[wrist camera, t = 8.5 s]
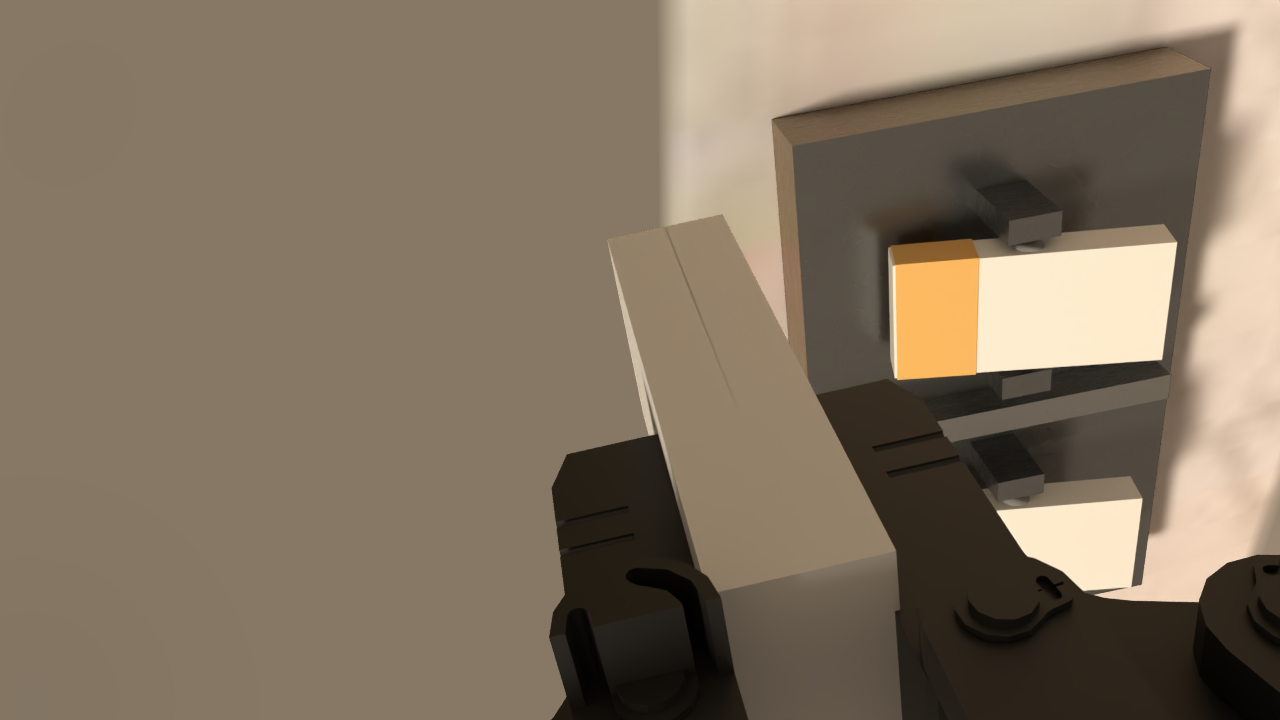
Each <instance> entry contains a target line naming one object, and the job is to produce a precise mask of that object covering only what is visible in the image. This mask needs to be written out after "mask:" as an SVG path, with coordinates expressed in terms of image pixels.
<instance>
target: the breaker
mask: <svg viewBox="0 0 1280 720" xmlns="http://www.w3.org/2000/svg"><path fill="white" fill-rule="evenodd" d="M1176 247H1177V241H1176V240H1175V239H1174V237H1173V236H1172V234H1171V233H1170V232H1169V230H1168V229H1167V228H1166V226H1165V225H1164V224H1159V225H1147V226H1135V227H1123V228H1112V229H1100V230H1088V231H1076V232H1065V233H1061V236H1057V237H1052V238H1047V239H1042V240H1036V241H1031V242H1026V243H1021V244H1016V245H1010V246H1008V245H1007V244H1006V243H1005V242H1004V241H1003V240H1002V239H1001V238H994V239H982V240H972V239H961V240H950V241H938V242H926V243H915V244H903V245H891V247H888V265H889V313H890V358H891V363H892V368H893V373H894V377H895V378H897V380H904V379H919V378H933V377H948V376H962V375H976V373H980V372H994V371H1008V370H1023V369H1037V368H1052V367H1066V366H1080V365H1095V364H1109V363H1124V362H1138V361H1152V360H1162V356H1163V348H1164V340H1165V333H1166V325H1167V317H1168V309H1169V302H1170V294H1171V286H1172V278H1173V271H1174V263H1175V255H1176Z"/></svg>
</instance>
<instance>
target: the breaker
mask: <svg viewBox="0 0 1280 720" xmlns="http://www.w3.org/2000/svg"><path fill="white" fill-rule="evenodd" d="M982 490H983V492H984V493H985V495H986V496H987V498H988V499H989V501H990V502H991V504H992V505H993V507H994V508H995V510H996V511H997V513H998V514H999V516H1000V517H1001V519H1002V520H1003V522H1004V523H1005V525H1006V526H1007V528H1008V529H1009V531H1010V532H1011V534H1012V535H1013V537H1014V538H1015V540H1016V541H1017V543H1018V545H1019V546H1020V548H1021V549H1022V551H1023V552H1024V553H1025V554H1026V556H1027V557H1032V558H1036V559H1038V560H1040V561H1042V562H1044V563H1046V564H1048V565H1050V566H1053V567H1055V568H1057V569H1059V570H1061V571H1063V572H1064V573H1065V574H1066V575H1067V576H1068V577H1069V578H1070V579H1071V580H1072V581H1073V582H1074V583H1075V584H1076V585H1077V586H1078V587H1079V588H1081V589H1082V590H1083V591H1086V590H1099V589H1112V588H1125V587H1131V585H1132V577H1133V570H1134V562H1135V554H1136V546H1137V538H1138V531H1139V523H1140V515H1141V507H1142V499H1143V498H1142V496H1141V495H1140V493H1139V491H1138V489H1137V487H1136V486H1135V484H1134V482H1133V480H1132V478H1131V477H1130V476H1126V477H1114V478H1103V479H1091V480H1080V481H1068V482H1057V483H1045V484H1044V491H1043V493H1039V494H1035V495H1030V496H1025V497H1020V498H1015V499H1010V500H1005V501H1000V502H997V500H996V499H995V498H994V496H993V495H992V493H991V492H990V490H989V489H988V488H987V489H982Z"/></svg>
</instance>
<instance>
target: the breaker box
mask: <svg viewBox="0 0 1280 720" xmlns="http://www.w3.org/2000/svg"><path fill="white" fill-rule="evenodd" d="M1210 73H1211V68H1209V67H1207V66H1205V65H1203V64H1201V63H1199V62H1197V61H1195V60H1193V59H1191V58H1189V57H1187V56H1185V55H1182V54H1180V53H1178V52H1176V51H1174V50H1172V49H1170V48H1168V47H1164V48H1158V49H1153V50H1147V51H1142V52H1137V53H1131V54H1126V55H1120V56H1115V57H1109V58H1104V59H1098V60H1093V61H1088V62H1082V63H1077V64H1071V65H1066V66H1060V67H1055V68H1049V69H1044V70H1039V71H1033V72H1028V73H1022V74H1017V75H1011V76H1006V77H1000V78H995V79H990V80H984V81H979V82H973V83H968V84H962V85H957V86H951V87H946V88H940V89H935V90H930V91H924V92H919V93H913V94H908V95H902V96H897V97H891V98H886V99H881V100H875V101H870V102H864V103H859V104H853V105H848V106H842V107H837V108H832V109H826V110H821V111H815V112H810V113H804V114H799V115H793V116H788V117H783V118H777V119H772V128H773V141H774V154H775V167H776V180H777V193H778V207H779V220H780V233H781V246H782V259H783V272H784V285H785V298H786V311H787V324H788V337H789V344H790V346H791V348H792V350H793V352H794V354H795V356H796V358H797V360H798V362H799V364H800V366H801V367H802V369H803V371H804V373H805V375H806V377H807V379H808V381H809V383H810V385H811V387H812V389H813V391H814V393H815V395H818V394H822V393H827V392H831V391H835V390H840V389H844V388H849V387H853V386H858V385H862V384H866V383H871V382H875V381H880V380H884V379H888V380H890V381H892V382H893V383H895V384H896V385H898V386H900V387H901V388H903V389H905V390H906V391H908V392H910V393H911V394H913V395H915V396H916V397H918V398H920V399H921V400H923V401H924V403H925V404H926V406H927V407H928V409H929V410H930V412H931V413H932V415H933V416H934V418H935V419H936V421H937V422H938V424H939V425H940V427H941V428H942V430H943V434H944V437H946V436H947V437H948V439H949V440H950V442H951V443H952V445H953V446H954V448H955V450H956V451H957V453H958V454H959V458H960V461H961V462H964V463H965V465H966V466H967V468H968V469H969V471H970V472H971V474H972V475H973V477H974V478H975V480H976V481H977V483H978V484H979V486H980V487H981V489H987V488H988V489H989V490H990V492H991V493H992V495H993V496H994V498H995V499H996V500H997V502H1000V501H1005V500H1010V499H1015V498H1020V497H1025V496H1030V495H1035V494H1039V493H1043V491H1044V484H1045V483H1057V482H1068V481H1080V480H1091V479H1103V478H1114V477H1126V476H1130V477H1131V478H1132V480H1133V482H1134V484H1135V486H1136V487H1137V489H1138V491H1139V493H1140V495H1141V496H1142V498H1143V499H1142V507H1141V515H1140V523H1139V531H1138V538H1137V546H1136V554H1135V562H1134V570H1133V577H1132V585H1131V587H1133V586H1137V585H1142V578H1143V571H1144V564H1145V556H1146V549H1147V541H1148V534H1149V526H1150V519H1151V511H1152V504H1153V497H1154V489H1155V482H1156V474H1157V467H1158V459H1159V452H1160V445H1161V437H1162V430H1163V422H1164V415H1165V407H1166V400H1167V399H1168V395H1169V388H1170V381H1171V374H1170V370H1171V363H1172V355H1173V348H1174V340H1175V333H1176V326H1177V318H1178V311H1179V303H1180V296H1181V288H1182V281H1183V274H1184V266H1185V259H1186V251H1187V244H1188V236H1189V229H1190V221H1191V214H1192V207H1193V199H1194V192H1195V184H1196V177H1197V169H1198V162H1199V155H1200V147H1201V140H1202V132H1203V125H1204V117H1205V110H1206V102H1207V95H1208V88H1209V80H1210ZM1159 224H1164V225H1165V226H1166V228H1167V229H1168V230H1169V232H1170V233H1171V234H1172V236H1173V237H1174V239H1175V240H1176V241H1177V247H1176V255H1175V263H1174V271H1173V278H1172V286H1171V294H1170V302H1169V309H1168V317H1167V325H1166V333H1165V340H1164V348H1163V356H1162V360H1152V361H1138V362H1124V363H1109V364H1095V365H1080V366H1066V367H1052V368H1037V369H1023V370H1008V371H994V372H980V373H976V375H962V376H948V377H933V378H919V379H904V380H897V378H895V377H894V373H893V368H892V363H891V358H890V313H889V265H888V247H891V245H903V244H915V243H926V242H938V241H950V240H961V239H972V240H982V239H994V238H1001V239H1002V240H1003V241H1004V242H1005V243H1006V244H1007V245H1008V246H1010V245H1016V244H1021V243H1026V242H1031V241H1036V240H1042V239H1047V238H1052V237H1057V236H1061V233H1065V232H1076V231H1088V230H1100V229H1112V228H1123V227H1135V226H1147V225H1159ZM1125 588H1128V587H1125ZM1118 589H1123V588H1112V589H1099V590H1086V591H1083V592H1084V593H1088V594H1092V595H1095V594H1100V593H1104V592H1109V591H1114V590H1118Z"/></svg>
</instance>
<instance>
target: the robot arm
mask: <svg viewBox="0 0 1280 720" xmlns="http://www.w3.org/2000/svg"><path fill="white" fill-rule="evenodd" d="M608 245H609V250H610V255H611V260H612V264H613V269H614V274H615V279H616V283H617V289H618V293H619V298H620V303H621V308H622V313H623V318H624V323H625V327H626V332H627V337H628V342H629V347H630V352H631V356H632V361H633V366H634V371H635V375H636V381H637V385H638V390H639V395H640V400H641V405H642V410H643V414H644V418H645V422H646V426H647V430H648V433H649V436H647V437H642V438H637V439H633V440H629V441H624V442H620V443H615V444H611V445H606V446H602V447H597V448H593V449H589V450H585V451H580V452H576V453H571V454H567V455H566V458H565V460H564V462H563V464H562V467H561V469H560V471H559V473H558V475H557V478H556V480H555V482H554V484H553V486H552V495H553V503H554V511H555V519H556V525H557V535H558V543H559V551H560V555H561V557H560V559H561V567H562V575H563V583H564V591H565V596H564V597H563V598H562V600H561V601H560V603H559V604H558V606H557V607H556V609H555V610H554V612H553V616H552V622H551V629H550V636H549V638H550V642H551V645H552V648H553V652H554V655H555V658H556V661H557V665H558V669H559V672H560V675H561V678H562V682H563V685H564V688H565V692H566V695H567V697H566V699H565V700H564V702H563V704H562V705H561V707H560V708H559V710H558V711H557V713H556V714H555V716H554V717H553V718H552V720H1280V555H1255V556H1251V557H1248V558H1244V559H1240V560H1236V561H1233V562H1229V563H1227V564H1225V565H1224V566H1223V567H1221V568H1220V569H1219V570H1217V571H1216V572H1215V573H1214V574H1212V575H1211V576H1210V577H1208V578H1207V580H1206V582H1205V585H1204V588H1203V591H1202V594H1201V597H1200V599H1199V602H1160V601H1129V600H1119V599H1109V598H1103V597H1099V596H1095V595H1092V594H1088V593H1084V592H1083V590H1082V589H1081V588H1079V587H1078V586H1077V585H1076V584H1075V583H1074V582H1073V581H1072V580H1071V579H1070V578H1069V577H1068V576H1067V575H1066V574H1065V573H1064V572H1063V571H1061V570H1059V569H1057V568H1055V567H1053V566H1050V565H1048V564H1046V563H1044V562H1042V561H1040V560H1038V559H1036V558H1032V557H1027V556H1026V554H1025V553H1024V552H1023V551H1022V549H1021V548H1020V546H1019V545H1018V543H1017V541H1016V540H1015V538H1014V537H1013V535H1012V534H1011V532H1010V531H1009V529H1008V528H1007V526H1006V525H1005V523H1004V522H1003V520H1002V519H1001V517H1000V516H999V514H998V513H997V511H996V510H995V508H994V507H993V505H992V504H991V502H990V501H989V499H988V498H987V496H986V495H985V493H984V492H983V490H982V489H981V487H980V486H979V484H978V483H977V481H976V480H975V478H974V477H973V475H972V474H971V472H970V471H969V469H968V468H967V466H966V465H965V463H964V462H961V461H960V458H959V454H958V453H957V451H956V450H955V448H954V446H953V445H952V443H951V442H950V440H949V439H948V437H947V436H946V437H944V434H943V430H942V428H941V427H940V425H939V424H938V422H937V421H936V419H935V418H934V416H933V415H932V413H931V412H930V410H929V409H928V407H927V406H926V404H925V403H924V401H923V400H921V399H920V398H918V397H916V396H915V395H913V394H911V393H910V392H908V391H906V390H905V389H903V388H901V387H900V386H898V385H896V384H895V383H893V382H892V381H890V380H888V379H884V380H880V381H875V382H871V383H866V384H862V385H858V386H853V387H849V388H844V389H840V390H835V391H831V392H827V393H822V394H818V395H815V393H814V391H813V389H812V387H811V385H810V383H809V381H808V379H807V377H806V375H805V373H804V371H803V369H802V367H801V366H800V364H799V362H798V360H797V358H796V356H795V354H794V352H793V350H792V348H791V346H790V344H789V342H788V340H787V338H786V336H785V335H784V333H783V331H782V329H781V327H780V325H779V323H778V321H777V319H776V317H775V315H774V313H773V311H772V309H771V307H770V305H769V304H768V302H767V300H766V298H765V296H764V294H763V292H762V290H761V288H760V286H759V284H758V282H757V280H756V278H755V276H754V274H753V273H752V271H751V269H750V267H749V265H748V263H747V261H746V259H745V257H744V255H743V253H742V251H741V249H740V247H739V245H738V243H737V242H736V240H735V238H734V236H733V234H732V232H731V230H730V228H729V226H728V224H727V222H726V220H725V218H724V216H723V214H722V215H717V216H713V217H708V218H704V219H699V220H694V221H690V222H685V223H681V224H676V225H672V226H667V227H663V228H658V229H654V230H649V231H644V232H640V233H635V234H631V235H626V236H622V237H617V238H613V239H608Z"/></svg>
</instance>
